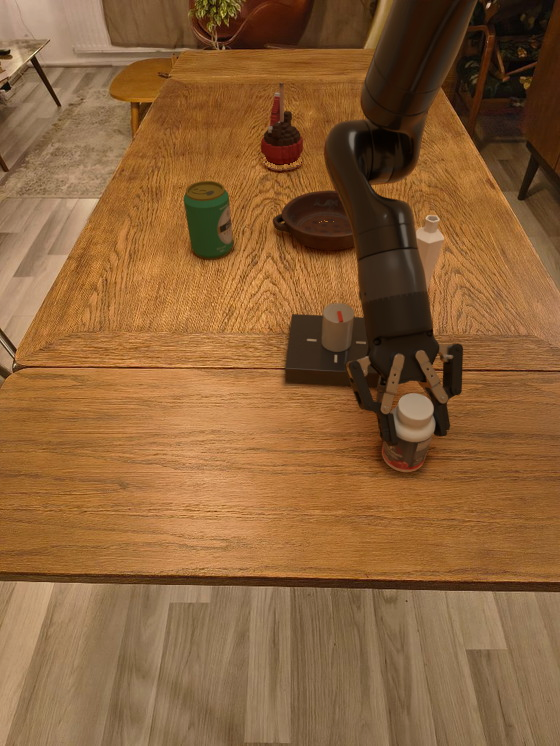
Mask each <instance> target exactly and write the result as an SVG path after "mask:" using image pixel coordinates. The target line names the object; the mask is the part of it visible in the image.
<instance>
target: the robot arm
mask: <svg viewBox="0 0 560 746" xmlns="http://www.w3.org/2000/svg"><path fill="white" fill-rule="evenodd" d="M478 1H479V0H392V2H391V6H390V7H389V11H388V14H387V16H386V19H385V21H384V24H383V27H382V30H381V33H380V35H379V39H378V41H377V44H376V46H375V50H374V53H373V55H372V58H371V61H370V63H369V67H368V69H367V72H366V75H365V77H364V80H363V84H362V86H361V90H360V97H359V98H360V99H359V101H360V103H359V104H360V108H361V111H362V114H363V115H364V117H365V118H361V119H350V120H348V119H347V120H343V121H340V122H337V123H336V124H335V125H334V126H333V127H331V129H330V130H329V132H328V134H327V136H326V139H325V141H324V148H323V156H324V157H323V158H324V159H323V160H324V164H325V168H326V172H327V175H328V177H329V180H330V182H331V184H332V186H333V188H334V191H336V192H337V194H338V197H339V199H340V201H341V203H342V205H343V208H344V210H345V213H346V215H347V218H348V220H349V223H350V226H351V229H352V234H353V240H354V246H353V247H354V251H355V258H356V264H357V265H356V266H357V283H358V296H359V300H360V303H361V310H362V315H363V316H362V317H364V323H365V329H366V335H367V341H368V351H367V353H366V356H365V357H363V358H360V359H358V360H355V361H348V362H346V363H345V365H344V368H345V370H346V373H347V376H348V379H349V381H350V384H351V389H352V393H353V395H354V397H355V400H356V403H357V406H358V408H359V409H360V410H362V411H368V412H372V413H374V414H375V415H376V422H377V427H378V434H379V438H380V439H381V441H382V442H384V441H385V442H386V444H387V445H389V446H396V445H398V441H397V434H396V428H395V422H394V415H393V413H391V411H392V409H393V408H392V407H393V403H394V399H395V395H396V394H397V391H398V388H399V385H404V384H406V383H409V382H417V383H418V385H419V386H420V387H421V388H422V389H423V391H424V393H425V394H426V395H427V396H426V397H427V398H428V399H429V400H430V401H431V402H432V404H433V407H434V411H433V417H434V419H435V431H434V433H433V436H435V437H439V438H442V437H447V436H448V431H450V430H451V429H450V428H451V421H450V415H449V409H448V402H449V400H450V399H452V398H454V397H455V396H460V395H461V394H462V391H463V364H464V346H463V345H462V344H461V343H450V344H443V343H439V341H438V340H437V339H436V337H435V335H434V323H433V318H432V317H433V316H432V311H431V303H430V298H429V292H428V291H427V285H426V278H425V272H424V267H423V264H422V261H421V257H420V254H419V250H418V242H417V236H416V231H417V229H416V224H415V219H414V212H413V209H412V206H411V205H410V204H409V203H408V202H407V201H405V200H401V199H398V198H391V197H387V196H383V195H380V194H379V193H377V192H376V190H375V189H374V187H373V186H378V185H389V184H391V185H392V184H395V183H399V182H401V181H403V180H405V179H406V178H407V177H408V176H410V175H411V174H412V172H414V170H415V169H416V167H417V165H418V163H419V159H420V153H421V146H422V142H423V141H422V140H423V136H424V131H425V128H426V127H425V126H426V122H427V119H428V113H429V111H430V108H431V106H432V105H433V103H434V101H435V99H436V98H437V95H438V93H440V90H441V88H442V86H443V84H444V82H445V81H446V79H447V77H448V74H449V73H450V70H451V68H452V67H453V65H454V63H455V60H456V58H457V56H458V55H459V52H460V49H461V47H462V44H463V42H464V39H465V36H466V34H467V30H468V28H469V24H470V21H471V19H472V16H473V14H474V11H475V8H476V6H477V3H478ZM438 356H439V360H440V361H441V362H442V381H441V378H440V377H439V375H438V373H437V372H436V370H435V369H434V367H433V365H434V363H435V361H436V359H437V357H438ZM369 365H370V366H371V367H372V368H373V369H374V370H375V371H376V372H377V373H378V374H379V380H378V384H377V388H376V395H375V399H374V398H373V395H372V392H371V390H370V389H371V388H369V387H368V384H367V381H366V379H365V376H367V374H368V366H369ZM383 382H384V383H383ZM441 382H442V384H441Z"/></svg>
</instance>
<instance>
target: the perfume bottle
mask: <svg viewBox="0 0 560 746" xmlns="http://www.w3.org/2000/svg"><path fill="white" fill-rule="evenodd" d="M424 220H425V222H424V226H423V227H421V226H420V227H418V228H417V229H416V236H417V242H418V250H419V254H420V257H421V261H422V264H423V267H424V272H425V278H426V285H427V291H428V290H429V287H430V284H431V282H432V278H433V276H434V273H435V269H436V266H437V263H438V260H439V257H440V254H441V251H442V248H443V246H444V242H445V239H446V238H445V237H444V235H443V233H442V232H441V230H440V229H439V227H438V226H439V222H440V221H441V219H440V217H439V216H438V215H437V214H436V215H434V214H427V215H426V217H424Z"/></svg>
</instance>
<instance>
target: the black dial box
mask: <svg viewBox="0 0 560 746" xmlns="http://www.w3.org/2000/svg"><path fill="white" fill-rule="evenodd" d="M322 318H323V314H321V315H320V314H301V313H299V314H298V313H291V318H290V326H289V335H288V344H287V351H286V359H285V367H284V382H285V384H297V385H298V384H301V385H318V386H333V387H334V386H335V387H348V388H349V387H351V384H350V381H349V379H348V376H347V373H346V370H345V368H344V365H345V363H346V362H348V361H355V360H358V359H360V358H363V357H365V356H366V353H367V351H368V341H367V335H366V329H365V323H364V316H354V324H353V333H352V342H351V346H350V347H349V348H348V349H347V350H344V351H341V352H333V351H330V350H327V349H326V348H324V346H323V345H322V343H321V336H322ZM365 379H366V381H367V384H368V387H369V389H377V384H378V380H379V374H378V373H377V372H376V371H375V370H374V369H373V368H372V367H371V366H370V365H369V366H368V374H367V376H365ZM383 383H384V382H383ZM351 388H352V387H351Z"/></svg>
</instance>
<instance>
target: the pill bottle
mask: <svg viewBox="0 0 560 746" xmlns="http://www.w3.org/2000/svg"><path fill="white" fill-rule="evenodd" d="M433 411H434V407H433V404H432V402H431V401H430V399H429V397H428V396H426V395H424V394H421V393H417V392H410V393H406V394H404V395H402V396H401V397H400V398H399V400H398V402H397V406H394V408H392V409H391V411H390V413H393V415H394V422H395V428H396V434H397V441H398V445H396V446H389V445H387V444H386V442H385V441H382V446H381V456H382V458H383V461H384V462H385V464H386V465H387V466H388V467H390V468H391V469H393V470H395V471H398V472H401V473H411V472H416V471H418V470H419V469H420V468H421V467H422V466H423V465H424V463H425V460H426V459H427V455H428V451H429V448H430V446H431V442H432V439H433V437H434V431H435V419H434V417H433Z"/></svg>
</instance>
